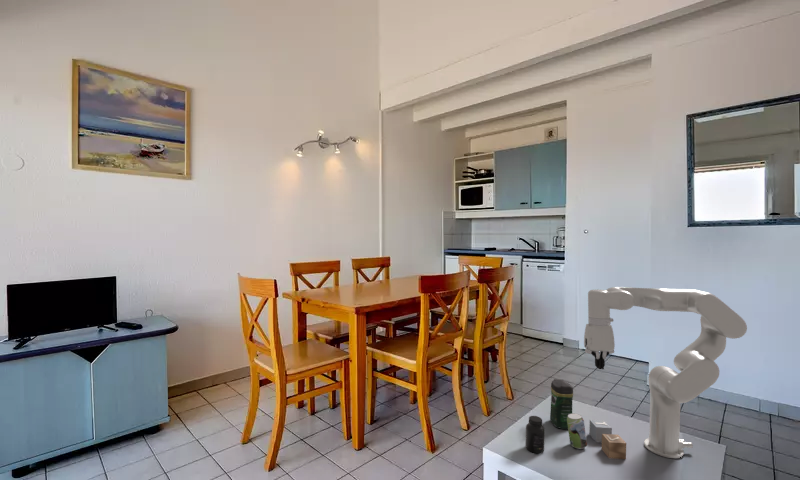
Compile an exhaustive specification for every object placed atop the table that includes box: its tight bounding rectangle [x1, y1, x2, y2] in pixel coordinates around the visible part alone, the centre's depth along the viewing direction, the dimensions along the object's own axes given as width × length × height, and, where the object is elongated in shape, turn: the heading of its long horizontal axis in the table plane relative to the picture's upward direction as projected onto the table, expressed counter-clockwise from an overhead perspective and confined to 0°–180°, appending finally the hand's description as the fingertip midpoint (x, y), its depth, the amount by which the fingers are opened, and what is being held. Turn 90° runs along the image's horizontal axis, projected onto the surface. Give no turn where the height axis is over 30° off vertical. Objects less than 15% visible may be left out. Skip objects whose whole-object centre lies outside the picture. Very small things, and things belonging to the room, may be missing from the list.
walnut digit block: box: [601, 433, 627, 460], centre depth 144 cm, size 6×6×6 cm
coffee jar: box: [549, 378, 574, 430], centre depth 166 cm, size 10×8×19 cm
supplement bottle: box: [524, 415, 546, 455], centre depth 146 cm, size 7×7×12 cm
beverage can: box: [567, 412, 588, 450], centre depth 149 cm, size 6×7×12 cm
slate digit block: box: [588, 419, 613, 443], centre depth 155 cm, size 6×6×6 cm
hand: (599, 368), depth 151 cm, fingers closed
